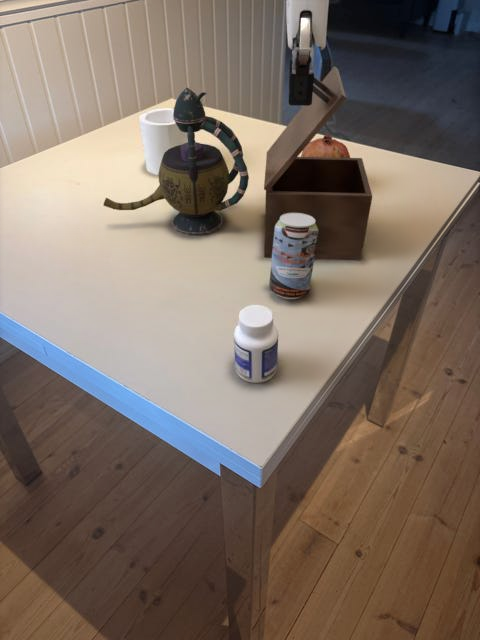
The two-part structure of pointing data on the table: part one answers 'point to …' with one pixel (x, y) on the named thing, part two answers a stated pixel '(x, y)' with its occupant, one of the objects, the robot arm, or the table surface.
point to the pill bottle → (256, 344)
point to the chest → (324, 204)
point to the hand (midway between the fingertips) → (299, 95)
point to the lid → (304, 126)
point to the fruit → (325, 148)
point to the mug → (159, 136)
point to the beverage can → (293, 255)
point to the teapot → (196, 172)
